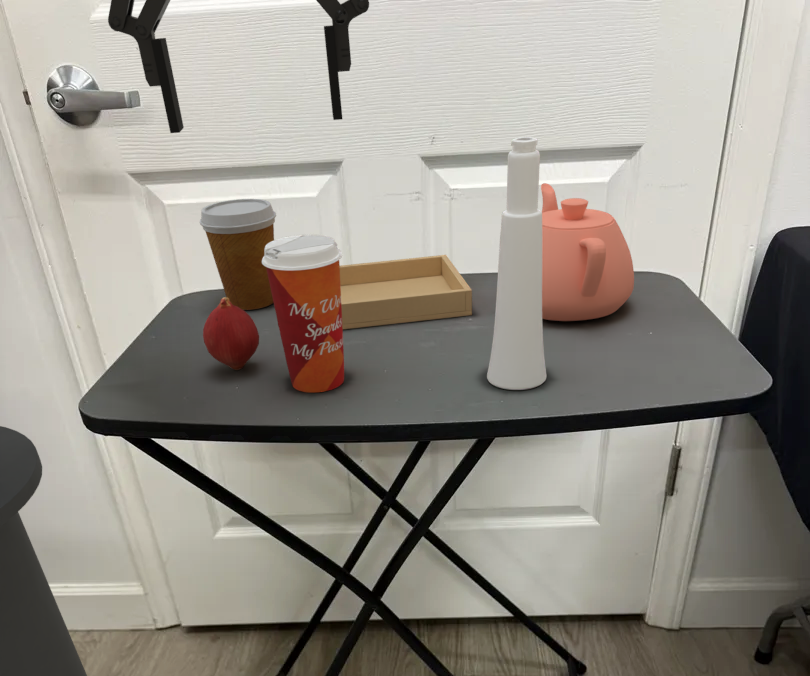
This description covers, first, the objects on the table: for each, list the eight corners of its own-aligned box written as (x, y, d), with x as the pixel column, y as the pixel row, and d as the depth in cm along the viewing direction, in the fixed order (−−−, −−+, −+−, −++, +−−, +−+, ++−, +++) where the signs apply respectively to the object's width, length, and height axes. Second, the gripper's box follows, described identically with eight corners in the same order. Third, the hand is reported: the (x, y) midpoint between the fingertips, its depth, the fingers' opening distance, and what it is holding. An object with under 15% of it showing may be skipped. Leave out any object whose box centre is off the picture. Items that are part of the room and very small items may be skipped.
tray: (312, 332, 93) (309, 307, 91) (305, 292, 105) (302, 269, 103) (472, 315, 94) (472, 289, 93) (446, 277, 107) (446, 254, 105)
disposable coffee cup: (264, 285, 108) (249, 194, 101) (302, 300, 102) (289, 204, 95) (203, 303, 104) (183, 208, 97) (239, 320, 98) (221, 220, 90)
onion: (201, 369, 85) (185, 297, 81) (246, 354, 88) (233, 284, 84) (227, 384, 82) (212, 310, 77) (273, 368, 84) (261, 295, 80)
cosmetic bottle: (557, 383, 77) (573, 139, 65) (503, 395, 76) (509, 148, 63) (528, 361, 82) (537, 130, 69) (476, 373, 80) (477, 138, 68)
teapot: (487, 283, 104) (487, 184, 97) (595, 272, 105) (604, 174, 98) (528, 343, 86) (532, 228, 79) (658, 329, 87) (674, 215, 80)
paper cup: (307, 404, 77) (287, 260, 68) (267, 381, 82) (244, 245, 73) (370, 380, 80) (358, 241, 72) (328, 360, 85) (312, 228, 77)
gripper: (381, -221, 57) (399, 106, 69) (36, -201, 56) (118, 129, 68) (389, -247, 51) (408, 118, 63) (3, -224, 49) (99, 143, 62)
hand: (257, 124), depth 66 cm, fingers open, 13 cm apart
